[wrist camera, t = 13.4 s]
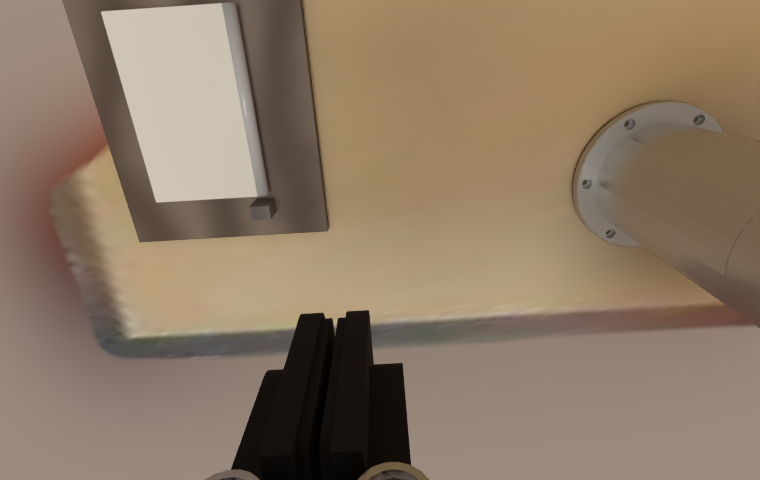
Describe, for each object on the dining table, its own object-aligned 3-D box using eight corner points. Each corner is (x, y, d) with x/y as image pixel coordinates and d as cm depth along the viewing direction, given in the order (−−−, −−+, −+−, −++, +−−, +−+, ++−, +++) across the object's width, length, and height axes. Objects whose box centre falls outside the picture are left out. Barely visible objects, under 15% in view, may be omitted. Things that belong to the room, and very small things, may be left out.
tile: (100, 11, 29) (110, 13, 30) (156, 202, 35) (163, 198, 36) (233, 2, 29) (238, 4, 30) (267, 196, 34) (270, 191, 35)
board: (294, -63, 29) (285, -77, 26) (328, 226, 38) (324, 241, 35) (56, -46, 30) (21, -57, 27) (145, 237, 38) (126, 252, 35)
